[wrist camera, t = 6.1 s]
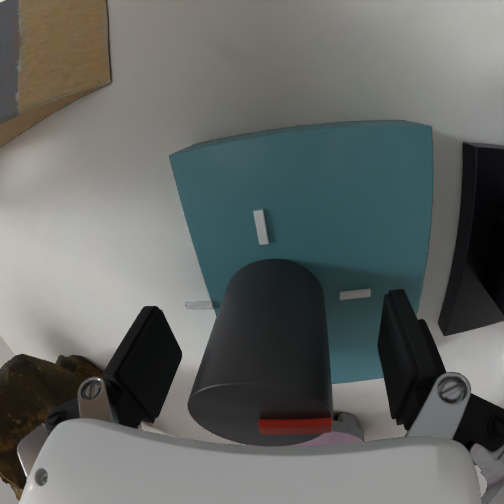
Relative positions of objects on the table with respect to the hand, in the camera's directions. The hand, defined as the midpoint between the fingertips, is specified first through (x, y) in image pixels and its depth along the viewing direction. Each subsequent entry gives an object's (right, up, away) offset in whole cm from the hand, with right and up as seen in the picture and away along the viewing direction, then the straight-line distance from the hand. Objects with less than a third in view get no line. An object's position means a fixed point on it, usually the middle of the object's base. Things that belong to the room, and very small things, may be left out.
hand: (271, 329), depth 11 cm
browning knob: (0, +1, +2) cm, 2 cm away
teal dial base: (+3, +3, +4) cm, 5 cm away
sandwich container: (-16, +15, 0) cm, 22 cm away
